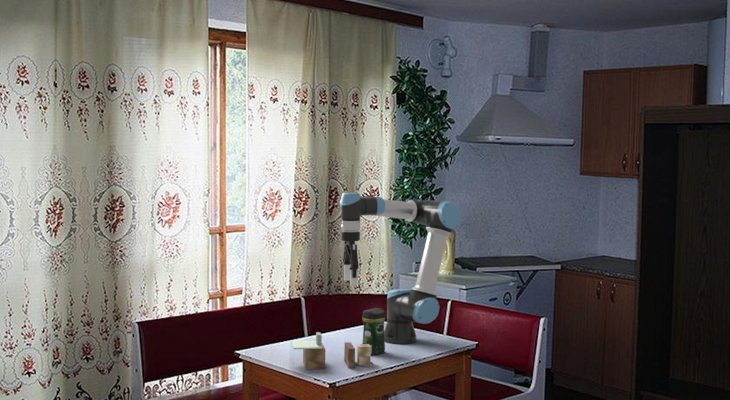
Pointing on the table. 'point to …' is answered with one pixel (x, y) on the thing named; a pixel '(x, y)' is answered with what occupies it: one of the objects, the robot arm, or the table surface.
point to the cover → (309, 343)
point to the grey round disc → (363, 365)
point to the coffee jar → (374, 330)
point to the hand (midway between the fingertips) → (350, 283)
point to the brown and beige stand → (317, 357)
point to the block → (363, 354)
